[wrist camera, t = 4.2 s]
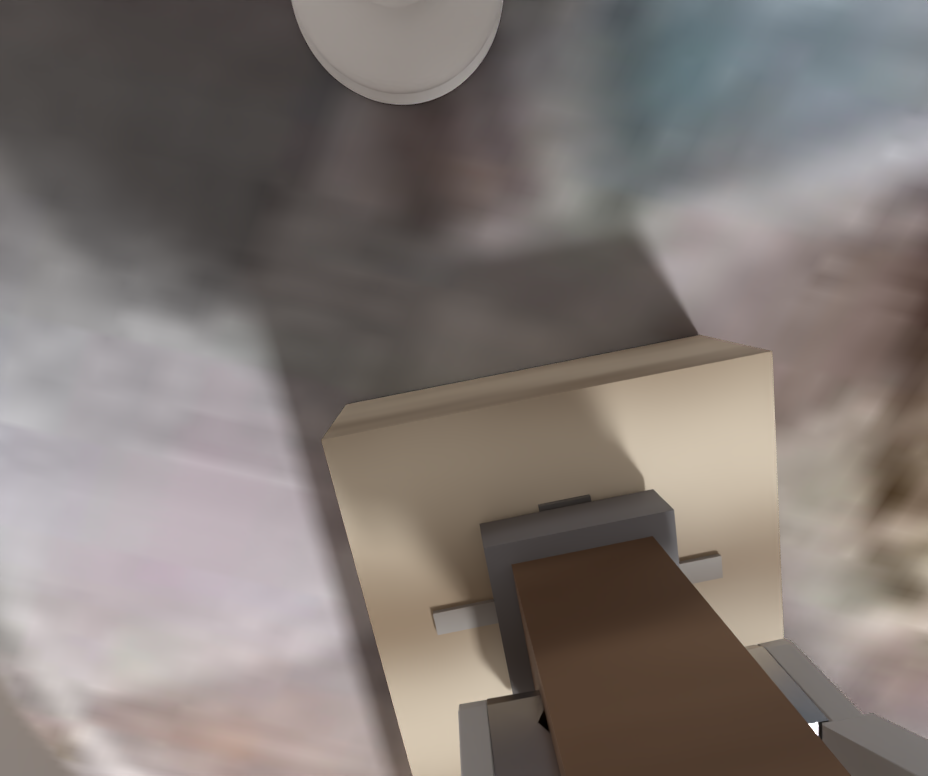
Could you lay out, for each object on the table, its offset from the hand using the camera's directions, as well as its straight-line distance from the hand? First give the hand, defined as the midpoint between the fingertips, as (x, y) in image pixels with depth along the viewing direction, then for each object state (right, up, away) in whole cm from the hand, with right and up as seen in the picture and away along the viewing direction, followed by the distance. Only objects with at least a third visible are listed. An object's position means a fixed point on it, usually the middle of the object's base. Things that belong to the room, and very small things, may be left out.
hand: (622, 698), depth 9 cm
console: (+1, -4, +7) cm, 8 cm away
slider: (0, +1, +3) cm, 3 cm away
